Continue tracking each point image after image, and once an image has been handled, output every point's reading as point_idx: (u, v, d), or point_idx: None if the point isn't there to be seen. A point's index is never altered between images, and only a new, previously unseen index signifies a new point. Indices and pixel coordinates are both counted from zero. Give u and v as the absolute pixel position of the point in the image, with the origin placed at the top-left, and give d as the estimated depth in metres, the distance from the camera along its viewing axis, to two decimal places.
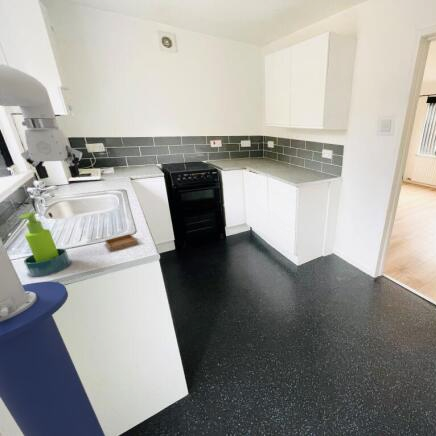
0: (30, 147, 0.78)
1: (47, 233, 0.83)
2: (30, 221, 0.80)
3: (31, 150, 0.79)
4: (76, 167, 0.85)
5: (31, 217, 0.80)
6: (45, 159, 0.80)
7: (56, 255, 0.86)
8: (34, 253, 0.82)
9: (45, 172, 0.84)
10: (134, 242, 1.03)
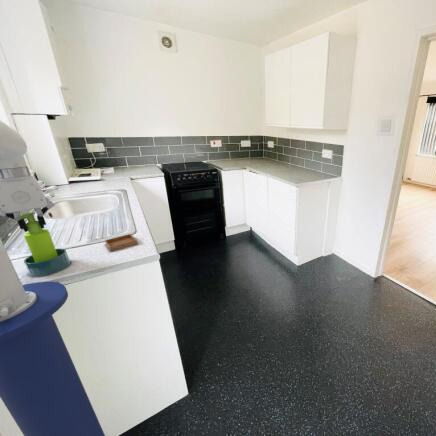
0: (2, 198, 0.73)
1: (46, 233, 0.82)
2: (29, 221, 0.80)
3: (4, 201, 0.73)
4: (43, 217, 0.82)
5: (30, 217, 0.79)
6: (22, 208, 0.76)
7: (55, 255, 0.85)
8: (33, 253, 0.81)
9: None
10: (134, 242, 1.03)
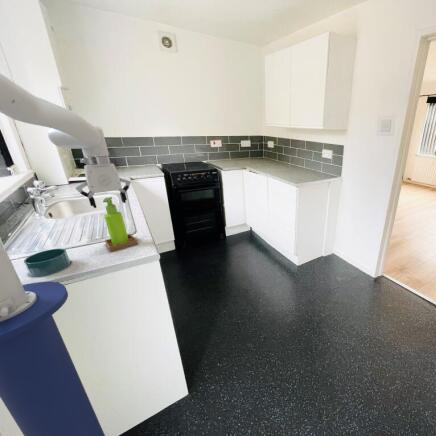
0: (91, 181, 0.89)
1: (120, 215, 1.00)
2: (108, 204, 0.97)
3: (92, 183, 0.90)
4: (124, 194, 1.00)
5: (109, 201, 0.97)
6: (104, 190, 0.93)
7: (126, 233, 1.03)
8: (110, 231, 0.99)
9: None
10: (134, 242, 1.03)
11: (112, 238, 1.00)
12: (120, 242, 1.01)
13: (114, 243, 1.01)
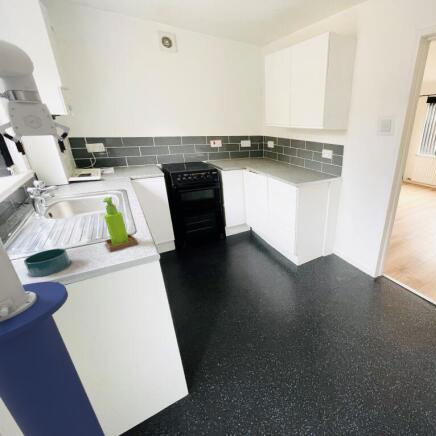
0: (15, 120, 0.76)
1: (120, 215, 1.00)
2: (108, 204, 0.97)
3: (17, 123, 0.76)
4: (63, 142, 0.86)
5: (109, 201, 0.97)
6: (34, 133, 0.79)
7: (126, 233, 1.03)
8: (110, 231, 0.99)
9: (23, 148, 0.81)
10: (134, 242, 1.03)
11: (112, 238, 1.00)
12: (120, 242, 1.01)
13: (114, 243, 1.01)
